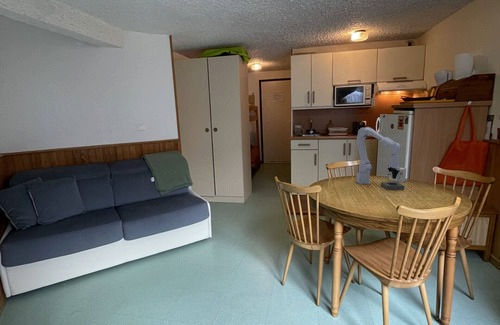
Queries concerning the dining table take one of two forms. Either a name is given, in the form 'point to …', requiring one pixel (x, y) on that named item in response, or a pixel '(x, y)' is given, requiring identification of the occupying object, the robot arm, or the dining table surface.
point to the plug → (391, 177)
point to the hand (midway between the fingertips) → (392, 177)
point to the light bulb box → (401, 175)
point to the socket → (392, 185)
